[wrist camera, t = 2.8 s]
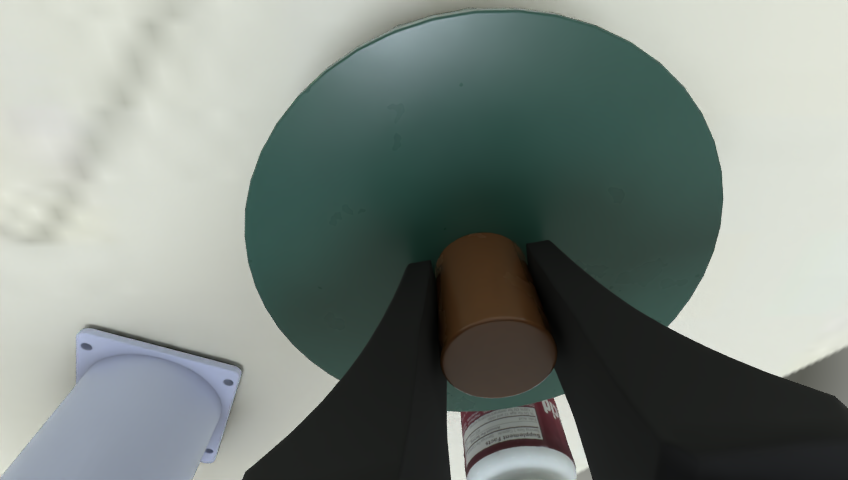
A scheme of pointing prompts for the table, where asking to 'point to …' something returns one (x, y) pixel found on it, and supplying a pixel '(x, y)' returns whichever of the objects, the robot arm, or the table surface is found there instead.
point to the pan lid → (481, 191)
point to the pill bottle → (517, 444)
